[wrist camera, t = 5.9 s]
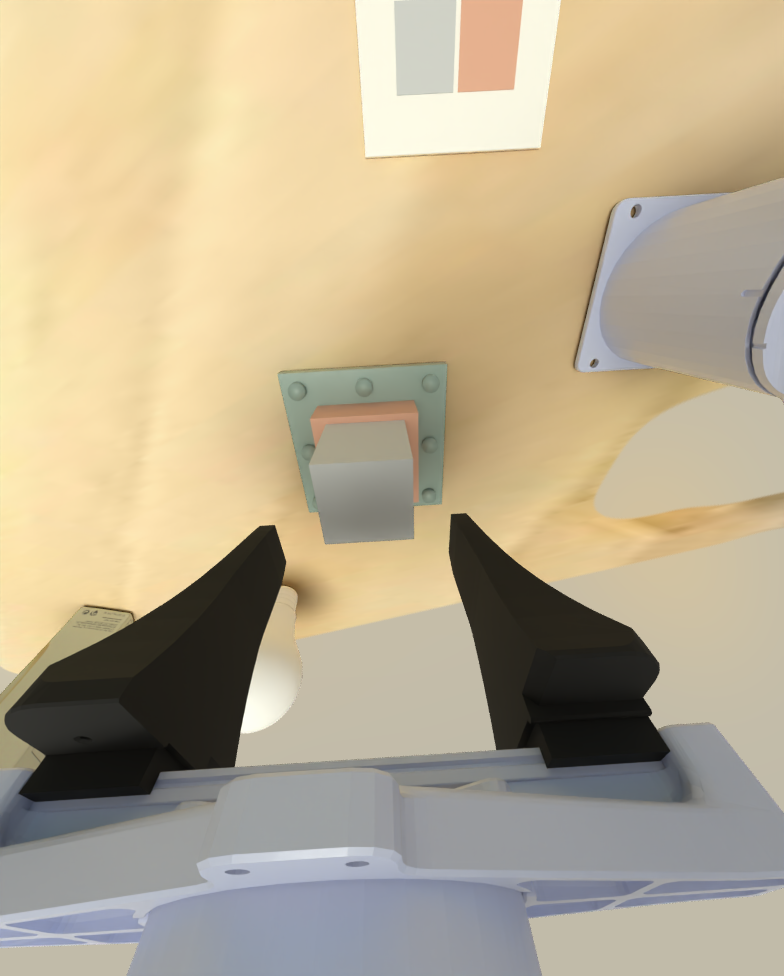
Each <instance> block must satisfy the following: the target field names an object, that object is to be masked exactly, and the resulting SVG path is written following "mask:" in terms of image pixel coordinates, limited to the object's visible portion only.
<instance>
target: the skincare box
mask: <svg viewBox="0 0 784 976" xmlns="http://www.w3.org/2000/svg"><path fill="white" fill-rule="evenodd" d="M133 622H134V621H133V618H132V615H131V613H126V612H119V611H113V610H106V609H98V608H90V607H81V608H80V609H79V610H78V611H77V613H76V614H75V615H74V616H73V617H72V618H71V619H70V620H69V621H68V622H67V623H66V624H65V625H64V627H63V628H62V629H61V630H60V631H59V632H58V633H57V634H56V635H55V636H54V637H53V638H52V639H51V640H50V642H49V643H48V644H47V645H46V646H45V647H44V648H43V649H42V650H41V651H40V652H39V653H38V654H37V656H36V657H35V658H34V659H33V660H32V661H31V662H30V663H29V664H28V665H27V666H26V667H25V668H24V669H23V670H22V671H21V672H20V674H19V675H18V676H17V677H16V678H15V679H14V680H13V681H12V683H10V684H9V685H8V687H7V688H6V689H5V690H4V691H3V692H2V693H1V694H0V768H15V767H24V768H31V769H35V770H36V769H37V767H38V766H39V765H40V763H41V762H42V760H43V759H44V758H45V756H46V755H44V754H43V753H41V752H40V751H38V750H37V749H35V748H33V747H32V746H30V745H29V744H27V743H26V742H24V741H22V740H21V739H19V738H18V737H16V736H15V735H14V734H12V733H11V732H10V731H9V730H8V729H7V727H6V725H5V722H4V718H5V714H6V713H7V712H8V710H9V709H10V708H11V707H12V706H13V705H14V704H15V703H16V702H17V700H18V699H19V698H20V697H21V696H22V695H23V694H24V693H25V692H26V690H27V689H28V688H29V687H30V686H31V685H32V684H33V683H34V682H35V680H36V679H37V678H38V677H39V676H40V675H41V674H42V673H43V671H44V670H45V669H46V668H47V667H48V666H49V665H51V664H53V663H55V662H58V661H60V660H62V659H64V658H66V657H68V656H70V655H72V654H74V653H76V652H78V651H80V650H82V649H85V648H87V647H89V646H91V645H93V644H95V643H97V642H99V641H101V640H102V639H104V638H106V637H108V636H110V635H112V634H114V633H116V632H117V631H119V630H121V629H123V628H125V627H126V626H128V625H130V624H132V623H133Z"/></svg>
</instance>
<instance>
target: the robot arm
mask: <svg viewBox="0 0 784 976" xmlns="http://www.w3.org/2000/svg"><path fill="white" fill-rule="evenodd" d="M633 206H634V207H635V208H636V213H635V215H634V217H633V218H632V217H631V215H630V212H631V209H632V207H633ZM593 359H595V363H594V365H592V366H591V367H590V363H591V361H592V360H593ZM648 368H660V369H664V370H668V371H672V372H676V373H680V374H684V375H689V376H693V377H697V378H701V379H705V380H709V381H713V382H717V383H722V384H726V385H730V386H734V387H738V388H742V389H747V390H751V391H754V392H759V393H763V394H767V395H771V396H775V397H778V398H780V399H781V400H782V401H783V403H784V177H782V178H779V179H776V180H773V181H769V182H766V183H763V184H759V185H756V186H753V187H749V188H746V189H743V190H740V191H736V192H732V193H714V194H696V195H678V196H660V197H643V198H628V199H625V200H622V201H620V202H619V203H617V204H616V205H615V207H614V208H613V210H612V213H611V216H610V220H609V225H608V229H607V233H606V237H605V241H604V245H603V249H602V253H601V258H600V262H599V266H598V270H597V274H596V278H595V282H594V287H593V291H592V295H591V299H590V303H589V307H588V311H587V315H586V320H585V324H584V328H583V332H582V336H581V340H580V344H579V349H578V353H577V357H576V361H575V369H576V370H577V371H580V372H598V371H615V370H631V369H648ZM449 556H450V561H451V566H452V571H453V575H454V578H455V581H456V584H457V587H458V590H459V593H460V596H461V599H462V602H463V605H464V608H465V611H466V614H467V617H468V620H469V623H470V627H471V630H472V633H473V638H474V642H475V646H476V651H477V655H478V660H479V664H480V669H481V673H482V678H483V683H484V687H485V693H486V698H487V703H488V707H489V713H490V718H491V723H492V729H493V733H494V740H495V744H496V750H492V751H478V752H462V753H447V754H431V755H416V756H400V757H385V758H370V759H354V760H339V761H325V762H308V763H293V764H279V765H278V764H277V765H262V766H247V767H235V761H236V755H237V749H238V744H239V737H240V732H241V727H242V722H243V717H244V712H245V707H246V702H247V697H248V693H249V688H250V684H251V680H252V675H253V671H254V667H255V663H256V659H257V655H258V651H259V647H260V644H261V641H262V638H263V635H264V632H265V629H266V626H267V624H268V621H269V618H270V615H271V613H272V610H273V607H274V605H275V602H276V599H277V596H278V593H279V590H280V587H281V585H282V580H283V576H284V571H285V566H286V559H285V556H284V553H283V550H282V547H281V543H280V540H279V537H278V534H277V531H276V527H275V525H268V526H259V527H258V528H257V529H256V530H255V531H253V532H252V533H251V534H250V535H249V536H248V537H247V538H246V539H245V540H243V541H242V542H241V543H240V544H239V545H238V546H237V547H236V548H235V549H234V550H232V551H231V552H230V553H229V554H228V555H227V556H226V557H225V558H223V559H222V560H221V561H220V562H219V563H218V564H216V565H215V566H214V567H213V568H211V569H210V570H209V571H208V572H207V573H205V574H204V575H203V576H202V577H201V578H199V579H198V580H197V581H195V582H194V583H193V584H191V585H190V586H189V587H187V588H186V589H185V590H183V591H182V592H180V593H179V594H178V595H176V596H175V597H173V598H172V599H170V600H169V601H167V602H166V603H164V604H163V605H161V606H159V607H158V608H156V609H155V610H153V611H151V612H150V613H148V614H147V615H145V616H143V617H142V618H140V619H139V620H137V621H135V622H133V623H132V624H130V625H128V626H126V627H125V628H123V629H121V630H119V631H117V632H116V633H114V634H112V635H110V636H108V637H106V638H104V639H102V640H101V641H99V642H97V643H95V644H93V645H91V646H89V647H87V648H85V649H82V650H80V651H78V652H76V653H74V654H72V655H70V656H68V657H66V658H64V659H62V660H60V661H58V662H55V663H53V664H51V665H49V666H48V667H47V668H46V669H45V670H44V671H43V673H42V674H41V675H40V676H39V677H38V678H37V679H36V680H35V682H34V683H33V684H32V685H31V686H30V687H29V688H28V689H27V690H26V692H25V693H24V694H23V695H22V696H21V697H20V698H19V699H18V700H17V702H16V703H15V704H14V705H13V706H12V707H11V708H10V709H9V710H8V712H7V713H6V714H5V718H4V722H5V725H6V727H7V729H8V730H9V731H10V732H11V733H12V734H14V735H15V736H16V737H18V738H19V739H21V740H22V741H24V742H26V743H27V744H29V745H30V746H32V747H33V748H35V749H37V750H38V751H40V752H41V753H43V754H44V755H46V756H45V758H44V759H43V760H42V762H41V763H40V765H39V766H38V767H37V769H36V770H35V769H31V768H24V767H15V768H0V948H9V947H30V946H32V947H34V946H59V945H61V946H62V945H95V944H128V943H139V944H138V946H137V949H136V952H135V955H134V958H133V960H132V963H131V965H130V968H129V970H128V973H127V976H542V974H541V970H540V966H539V962H538V957H537V954H536V949H535V945H534V941H533V937H532V932H531V928H530V924H529V920H528V918H538V917H547V916H556V915H565V914H574V913H582V912H593V911H602V910H611V909H620V908H629V907H639V906H648V905H658V904H667V903H677V902H688V901H700V900H711V899H724V898H736V897H750V896H758V895H762V894H765V893H768V892H772V891H775V890H778V889H782V888H784V813H783V811H782V810H781V809H780V808H779V806H778V805H777V804H776V803H775V801H774V800H773V799H772V797H771V796H770V795H769V794H768V792H767V791H766V790H765V789H764V788H763V786H762V785H761V784H760V782H759V781H758V780H757V779H756V777H755V776H754V775H753V773H752V772H751V771H750V770H749V768H748V767H747V766H746V765H745V763H744V762H743V761H742V759H741V758H740V757H739V756H738V754H737V753H736V752H735V751H734V749H733V748H732V747H731V745H730V744H729V743H728V742H727V740H726V739H725V738H724V737H723V735H722V734H721V733H720V732H719V730H718V729H717V728H716V726H714V725H713V724H711V723H693V724H677V725H669V726H664V727H662V728H659V729H658V730H657V729H656V728H655V726H654V725H653V723H652V722H651V720H650V719H649V717H648V716H651V714H652V711H651V709H650V707H649V706H648V704H647V703H646V701H645V700H644V698H643V697H644V695H645V694H646V692H647V691H648V690H649V688H650V687H651V686H652V684H653V683H654V682H655V680H656V678H657V676H658V674H659V671H660V669H659V668H660V667H659V662H658V661H657V660H656V658H655V657H654V656H653V654H652V653H651V652H650V650H649V649H648V648H647V646H646V645H645V644H644V642H643V641H642V640H641V639H640V637H638V635H637V634H636V633H635V631H634V630H633V629H632V628H630V627H628V626H626V625H624V624H622V623H619V622H617V621H615V620H613V619H611V618H608V617H606V616H604V615H602V614H599V613H598V612H596V611H593V610H592V609H589V608H588V607H586V606H584V605H582V604H580V603H578V602H577V601H575V600H573V599H571V598H569V597H568V596H566V595H564V594H562V593H561V592H559V591H558V590H556V589H554V588H553V587H551V586H549V585H548V584H546V583H545V582H543V581H542V580H540V579H539V578H537V577H536V576H535V575H533V574H532V573H530V572H529V571H528V570H526V569H525V568H523V567H522V566H521V565H520V564H518V563H517V562H516V561H515V560H513V559H512V558H511V557H510V556H509V555H508V554H506V553H505V552H504V551H503V550H502V549H501V548H500V547H499V546H498V545H497V544H496V543H495V542H493V541H492V540H491V539H490V538H489V537H488V536H487V535H486V534H485V533H484V532H483V531H482V530H481V528H480V527H479V526H478V525H477V524H476V523H475V522H474V521H473V520H472V519H471V518H470V517H469V516H468V515H467V514H466V513H464V514H451V524H450V540H449Z"/></svg>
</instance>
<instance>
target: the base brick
mask: <svg viewBox="0 0 784 976" xmlns="http://www.w3.org/2000/svg"><path fill="white" fill-rule="evenodd" d="M393 420H405V425H406V429H407V434H408V438H409V443H410V447H411V452H412V457H413V501H414V503H416V502H419V450H418V410H417V407H416V405H415V402H414V400H405V401H389V402H372V403H356V404H339V405H322V406H317V408H316V409H315V411H314V413H313V414H312V416H311V418H310V422H311V427H312V432H313V438H314V443H315V448H316V446H317V444H318V442H319V439H320V437H321V435H322V432H323V430H324V427H325V425H326V424H340V423H358V422H375V421H393Z"/></svg>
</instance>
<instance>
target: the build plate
mask: <svg viewBox="0 0 784 976" xmlns="http://www.w3.org/2000/svg"><path fill="white" fill-rule="evenodd" d="M278 378H279V383H280V387H281V391H282V396H283V400H284V404H285V409H286V413H287V417H288V422H289V426H290V430H291V435H292V439H293V443H294V448H295V452H296V456H297V461H298V465H299V469H300V474H301V478H302V482H303V487H304V491H305V495H306V500H307V504H308V508H309V512H318V508H317V503H316V498H315V493H314V488H313V483H312V479H311V474H310V469H309V463H310V461H311V458H312V456H313V454H314V451H315V449H316V448H315V443H314V438H313V432H312V427H311V422H310V418H311V416H312V414H313V413H314V411H315V409H316V408H317V406H322V405H339V404H356V403H372V402H389V401H405V400H414V402H415V405H416V407H417V410H418V450H419V502H416V503H414V506H420V505H436V504H442V481H443V457H444V432H445V407H446V383H447V363H446V362H431V363H415V364H398V365H381V366H364V367H347V368H330V369H313V370H297V371H281V372H280V373H278Z"/></svg>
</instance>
